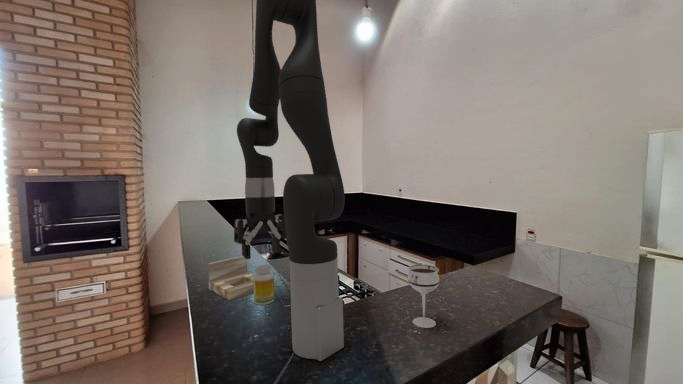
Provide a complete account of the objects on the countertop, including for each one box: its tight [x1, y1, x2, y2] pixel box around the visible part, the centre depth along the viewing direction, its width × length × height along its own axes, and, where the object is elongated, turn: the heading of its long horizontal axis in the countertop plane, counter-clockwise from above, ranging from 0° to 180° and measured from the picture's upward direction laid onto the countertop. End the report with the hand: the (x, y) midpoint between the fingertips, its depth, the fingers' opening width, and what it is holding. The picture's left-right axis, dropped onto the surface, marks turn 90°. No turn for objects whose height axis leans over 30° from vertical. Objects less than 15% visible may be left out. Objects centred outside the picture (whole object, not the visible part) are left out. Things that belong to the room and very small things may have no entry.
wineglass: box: [407, 264, 440, 329], centre depth 65 cm, size 7×7×12 cm
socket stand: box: [207, 255, 255, 301], centre depth 90 cm, size 14×12×8 cm
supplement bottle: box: [253, 263, 275, 306], centre depth 80 cm, size 5×5×10 cm
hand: (262, 255), depth 80 cm, fingers open, 8 cm apart
